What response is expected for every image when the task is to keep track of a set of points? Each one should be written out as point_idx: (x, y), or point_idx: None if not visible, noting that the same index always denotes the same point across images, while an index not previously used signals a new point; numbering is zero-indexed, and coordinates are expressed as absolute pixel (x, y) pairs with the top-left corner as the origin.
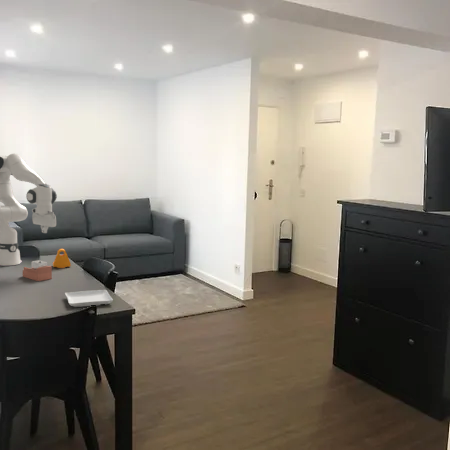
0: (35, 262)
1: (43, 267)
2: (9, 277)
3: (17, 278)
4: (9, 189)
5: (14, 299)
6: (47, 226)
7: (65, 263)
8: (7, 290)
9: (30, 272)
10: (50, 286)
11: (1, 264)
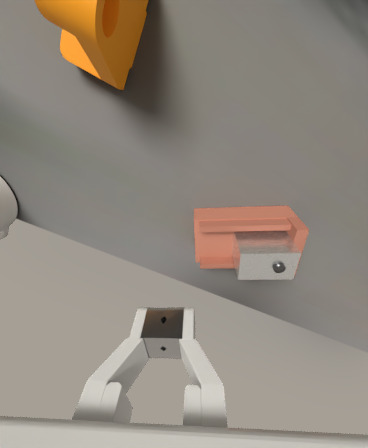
0: (265, 279)
1: (299, 259)
2: (181, 272)
3: None
4: None
5: (358, 335)
6: (225, 417)
7: (139, 11)
8: (291, 318)
9: None
10: (356, 254)
11: (7, 226)
